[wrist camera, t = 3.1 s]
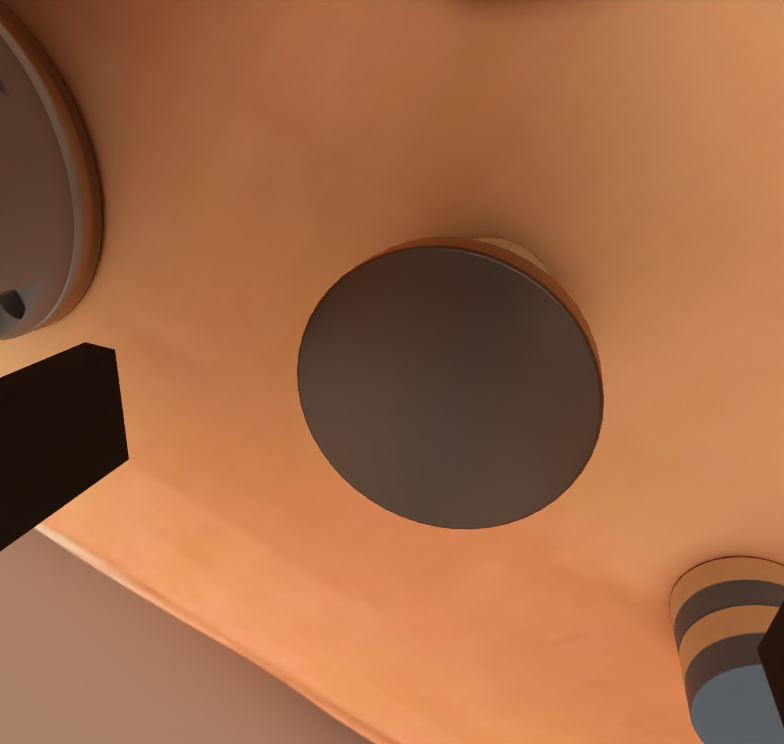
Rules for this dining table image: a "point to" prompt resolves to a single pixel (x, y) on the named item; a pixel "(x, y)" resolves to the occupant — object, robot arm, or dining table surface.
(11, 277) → the robot arm
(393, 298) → the walnut chip
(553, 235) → the dining table surface
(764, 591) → the chip stack
